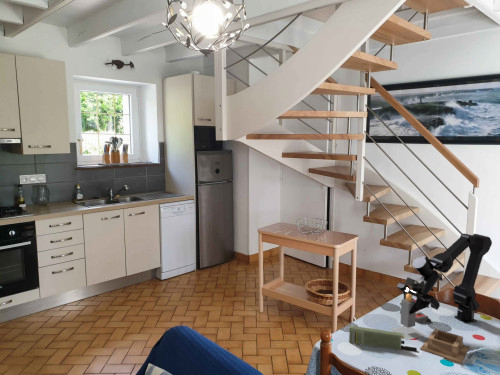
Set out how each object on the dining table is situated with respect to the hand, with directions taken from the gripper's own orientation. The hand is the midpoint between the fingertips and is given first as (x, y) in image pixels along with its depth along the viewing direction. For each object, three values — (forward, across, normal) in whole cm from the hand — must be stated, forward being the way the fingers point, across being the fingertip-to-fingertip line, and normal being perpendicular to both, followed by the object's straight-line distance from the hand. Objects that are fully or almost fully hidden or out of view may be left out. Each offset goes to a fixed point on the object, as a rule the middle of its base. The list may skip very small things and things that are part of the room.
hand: (405, 311), depth 159 cm
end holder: (+3, +15, +11) cm, 19 cm away
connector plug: (+3, 0, +5) cm, 6 cm away
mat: (+6, 0, +8) cm, 10 cm away
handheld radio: (+18, +4, -4) cm, 19 cm away
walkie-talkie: (-4, -13, +19) cm, 23 cm away
